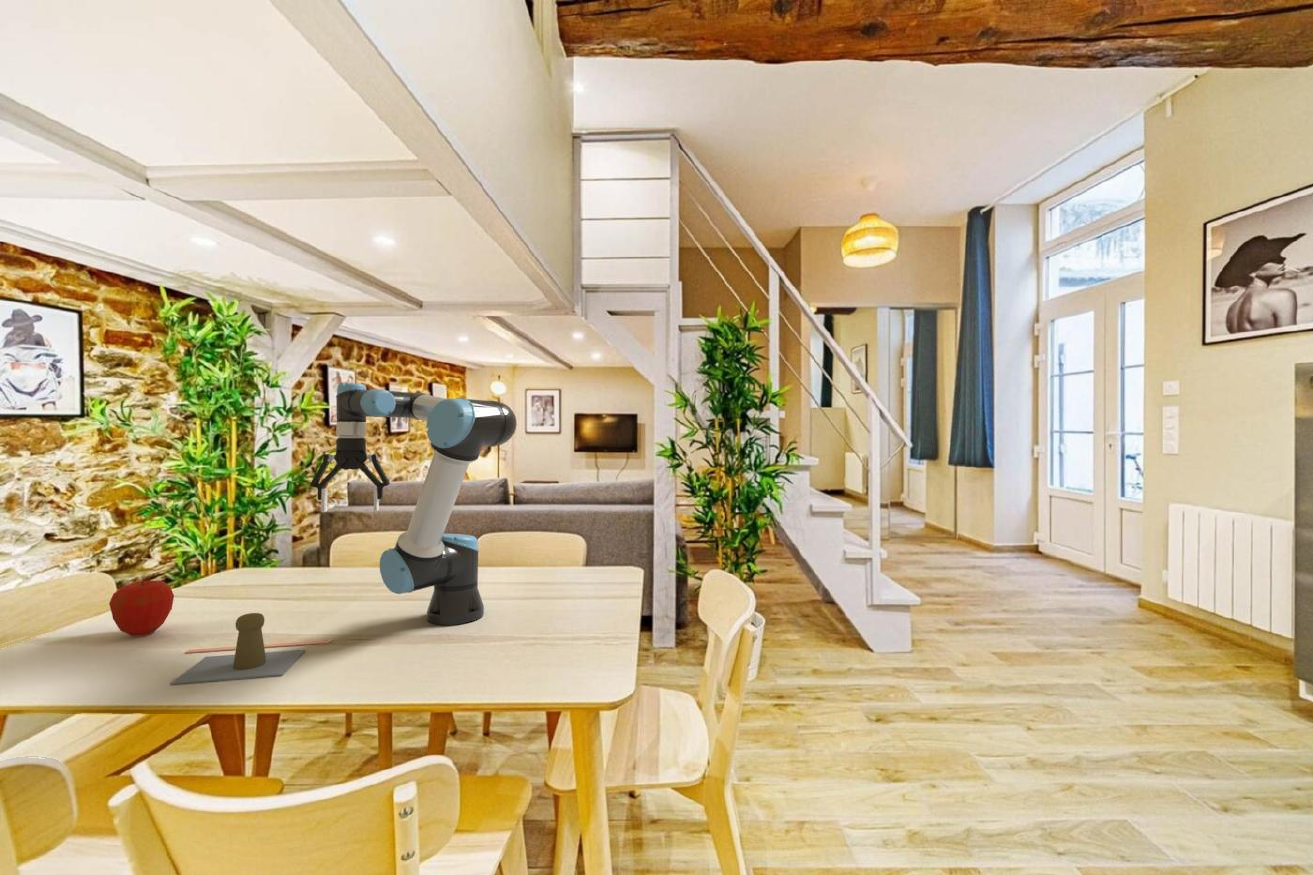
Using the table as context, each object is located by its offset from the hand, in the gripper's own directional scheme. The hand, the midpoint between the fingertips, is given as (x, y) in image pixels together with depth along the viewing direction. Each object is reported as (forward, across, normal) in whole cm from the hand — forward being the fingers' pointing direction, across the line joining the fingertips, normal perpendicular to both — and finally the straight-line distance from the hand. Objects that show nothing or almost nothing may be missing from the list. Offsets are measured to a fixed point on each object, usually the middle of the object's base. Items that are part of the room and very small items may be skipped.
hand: (350, 511), depth 165 cm
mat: (+29, +12, +38) cm, 49 cm away
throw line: (+29, +13, +26) cm, 41 cm away
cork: (+28, +11, +38) cm, 49 cm away
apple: (+29, +45, +10) cm, 54 cm away
